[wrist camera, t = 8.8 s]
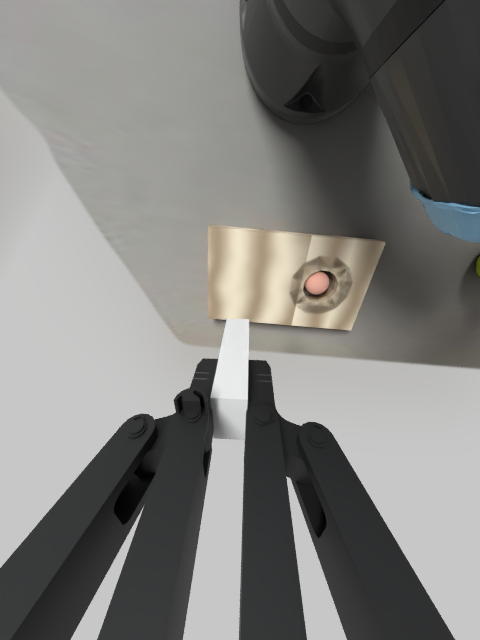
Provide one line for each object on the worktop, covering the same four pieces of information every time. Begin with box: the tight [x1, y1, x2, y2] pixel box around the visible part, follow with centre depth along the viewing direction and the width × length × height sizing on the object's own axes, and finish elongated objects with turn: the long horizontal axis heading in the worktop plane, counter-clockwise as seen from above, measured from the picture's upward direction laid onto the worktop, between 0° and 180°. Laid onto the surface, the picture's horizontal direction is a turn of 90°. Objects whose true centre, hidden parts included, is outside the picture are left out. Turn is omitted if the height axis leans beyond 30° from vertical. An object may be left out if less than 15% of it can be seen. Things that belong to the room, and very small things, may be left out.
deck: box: [208, 225, 386, 330], centre depth 32 cm, size 24×14×2 cm, turn 86°
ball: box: [305, 271, 329, 294], centre depth 32 cm, size 4×4×4 cm
